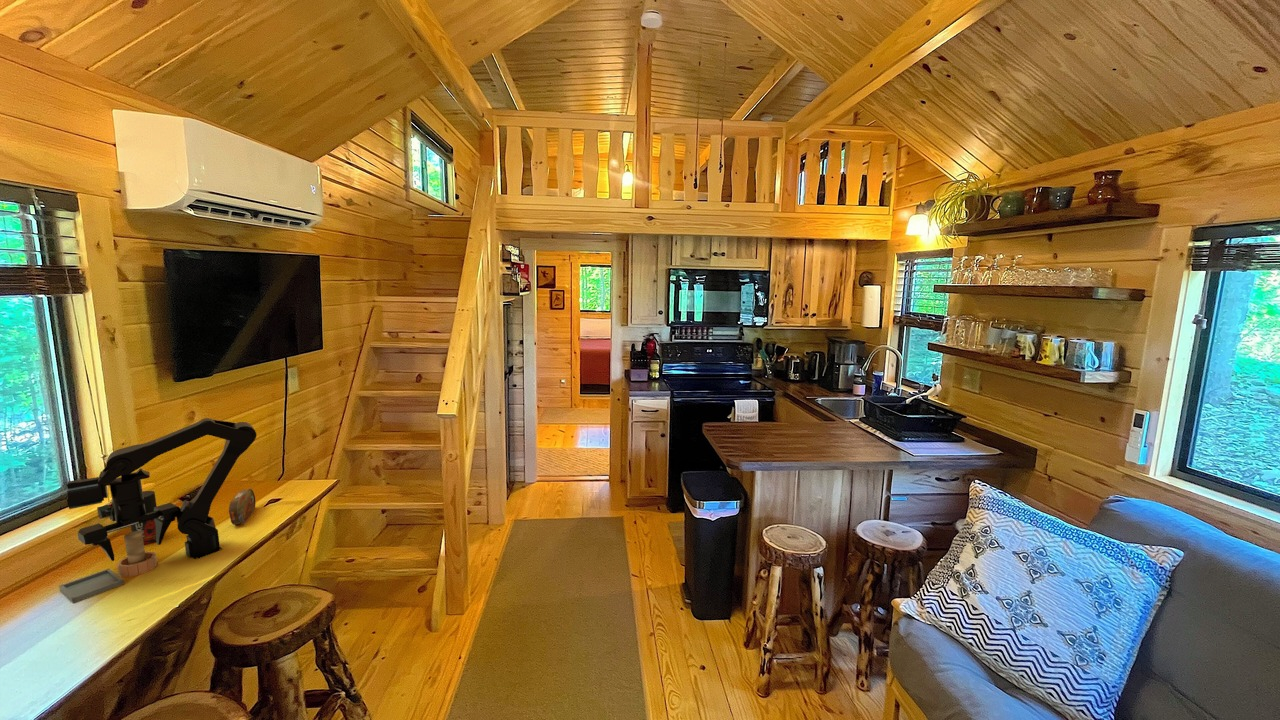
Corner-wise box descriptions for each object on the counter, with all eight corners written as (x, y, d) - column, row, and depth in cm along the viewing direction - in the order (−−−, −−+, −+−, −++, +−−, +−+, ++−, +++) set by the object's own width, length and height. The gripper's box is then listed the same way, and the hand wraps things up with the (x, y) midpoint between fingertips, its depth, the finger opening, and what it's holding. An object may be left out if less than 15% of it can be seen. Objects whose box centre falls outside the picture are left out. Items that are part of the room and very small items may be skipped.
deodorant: (132, 550, 147) (125, 501, 145) (134, 541, 152) (127, 494, 149) (160, 543, 151) (153, 495, 149) (162, 535, 156) (155, 489, 153)
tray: (110, 574, 135) (109, 568, 135) (124, 586, 130) (123, 579, 130) (60, 592, 127) (58, 585, 127) (73, 605, 123) (72, 598, 122)
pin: (144, 564, 139) (139, 529, 138) (149, 567, 138) (144, 533, 136) (127, 570, 136) (121, 535, 135) (132, 573, 135) (126, 538, 133)
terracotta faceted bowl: (150, 560, 142) (149, 549, 141) (161, 568, 139) (159, 556, 138) (115, 573, 136) (113, 561, 135) (125, 581, 132) (123, 569, 132)
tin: (240, 528, 161) (238, 503, 160) (228, 529, 160) (225, 504, 159) (257, 508, 175) (254, 484, 174) (246, 509, 174) (243, 485, 173)
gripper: (161, 479, 146) (168, 530, 148) (65, 503, 130) (75, 560, 132) (178, 487, 140) (185, 540, 143) (80, 514, 124) (91, 572, 127)
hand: (136, 552), depth 136 cm, fingers open, 9 cm apart
